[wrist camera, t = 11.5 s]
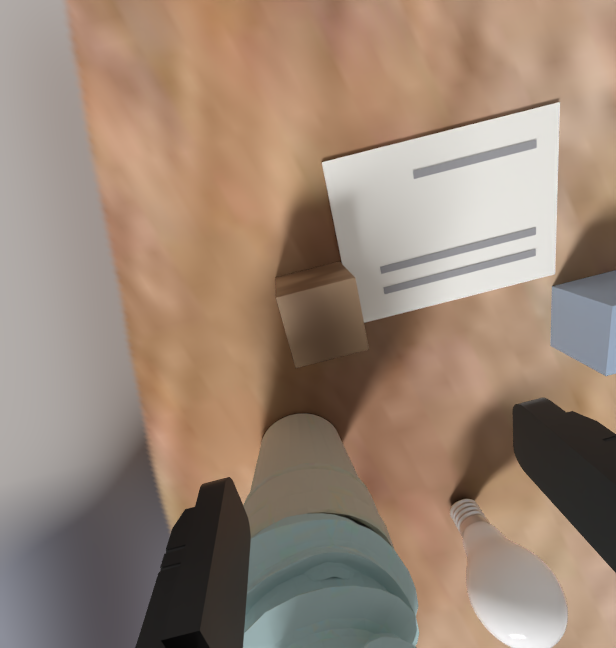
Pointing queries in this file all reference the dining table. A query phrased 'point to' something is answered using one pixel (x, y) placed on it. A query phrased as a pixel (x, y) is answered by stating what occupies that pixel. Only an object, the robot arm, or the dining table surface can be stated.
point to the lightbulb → (509, 584)
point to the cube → (586, 321)
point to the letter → (448, 212)
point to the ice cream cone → (320, 549)
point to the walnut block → (321, 314)
